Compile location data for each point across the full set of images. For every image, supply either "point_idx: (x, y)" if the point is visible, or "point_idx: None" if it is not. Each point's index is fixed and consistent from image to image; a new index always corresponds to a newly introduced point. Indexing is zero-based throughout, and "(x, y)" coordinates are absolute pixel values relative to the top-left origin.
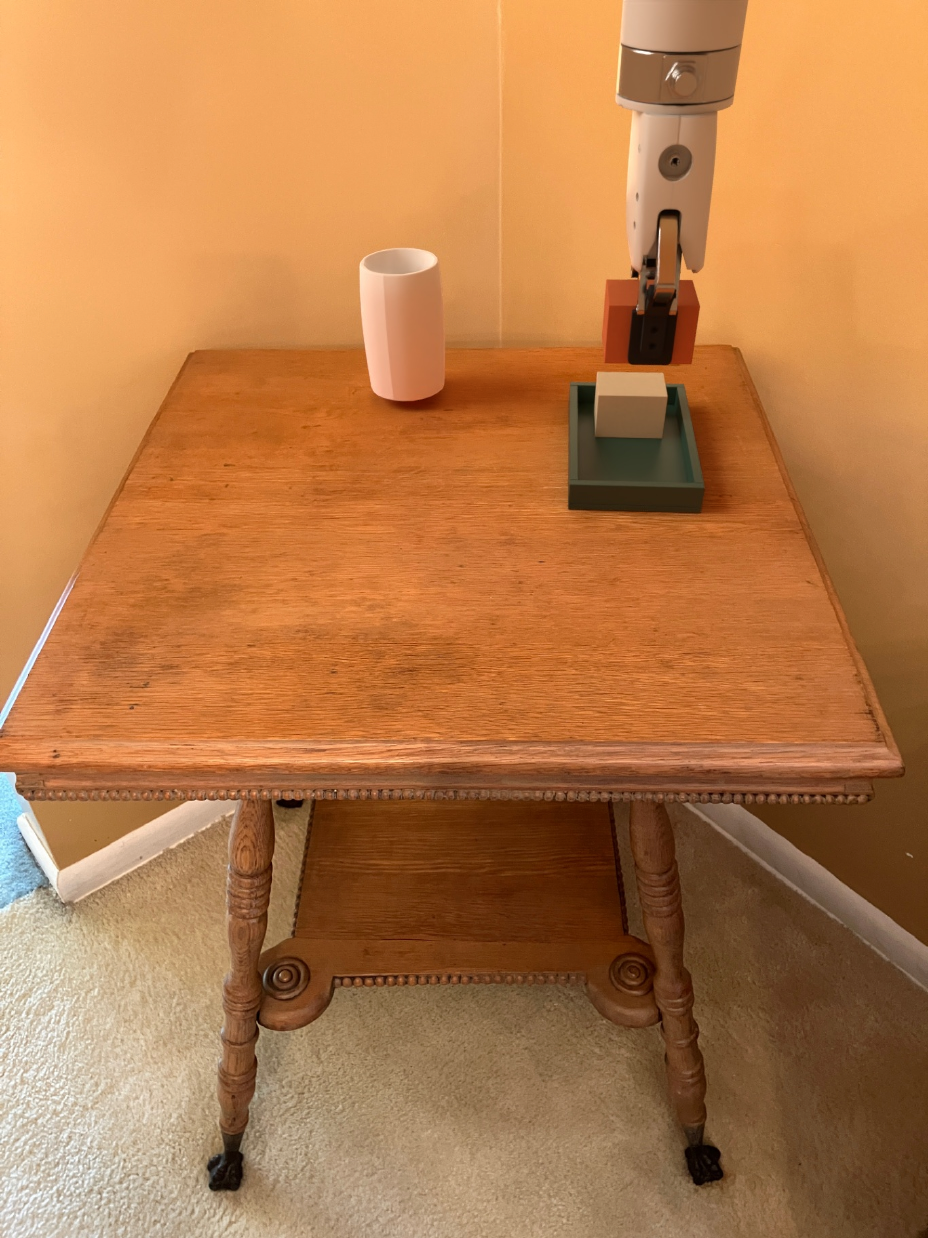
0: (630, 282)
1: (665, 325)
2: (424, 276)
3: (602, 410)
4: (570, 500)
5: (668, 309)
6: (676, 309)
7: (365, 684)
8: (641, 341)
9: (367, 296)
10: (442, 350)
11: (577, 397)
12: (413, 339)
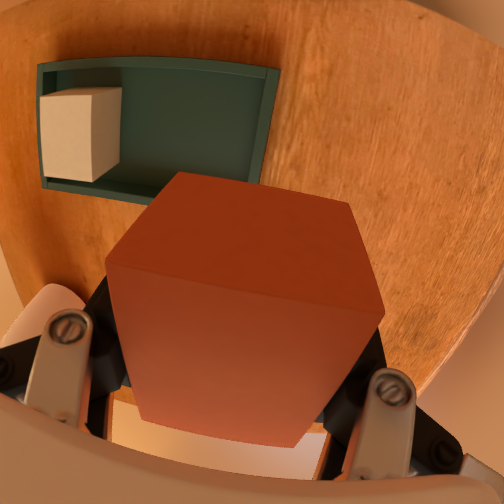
0: (155, 401)
1: (384, 361)
2: None
3: (102, 168)
4: None
5: (420, 412)
6: (414, 391)
7: (414, 352)
8: None
9: None
10: (48, 310)
11: (68, 184)
12: None
